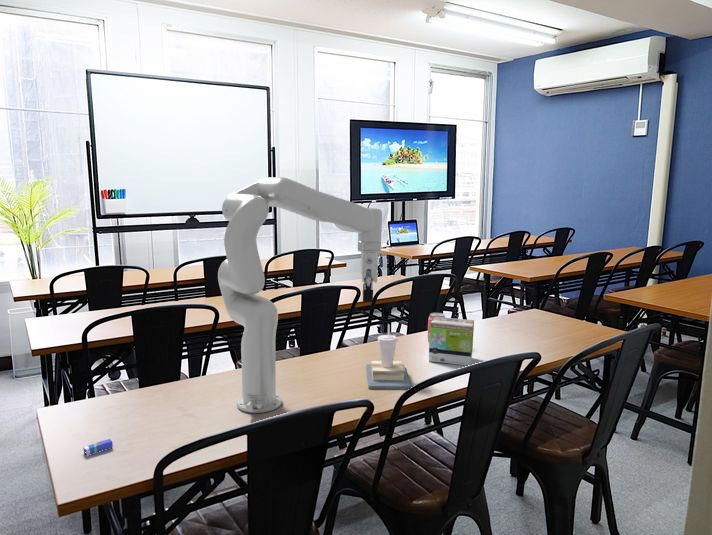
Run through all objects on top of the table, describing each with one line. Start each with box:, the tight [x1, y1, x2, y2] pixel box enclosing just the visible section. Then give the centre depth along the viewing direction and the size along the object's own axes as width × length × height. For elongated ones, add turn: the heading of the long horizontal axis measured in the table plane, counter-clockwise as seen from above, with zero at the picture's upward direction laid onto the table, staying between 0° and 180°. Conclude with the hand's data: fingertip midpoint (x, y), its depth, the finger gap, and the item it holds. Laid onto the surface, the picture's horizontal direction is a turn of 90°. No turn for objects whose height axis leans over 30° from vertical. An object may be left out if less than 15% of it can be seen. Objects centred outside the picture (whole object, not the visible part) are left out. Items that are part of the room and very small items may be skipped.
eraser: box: [83, 438, 114, 457], centre depth 128 cm, size 2×6×2 cm, turn 132°
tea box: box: [428, 317, 475, 367], centre depth 195 cm, size 15×10×15 cm, turn 74°
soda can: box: [427, 312, 446, 343], centre depth 215 cm, size 7×7×12 cm
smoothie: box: [377, 323, 398, 368], centre depth 176 cm, size 6×6×14 cm
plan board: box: [365, 363, 411, 390], centre depth 178 cm, size 20×13×1 cm, turn 1°
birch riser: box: [370, 360, 404, 380], centre depth 178 cm, size 10×10×3 cm
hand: (367, 298), depth 176 cm, fingers open, 9 cm apart
